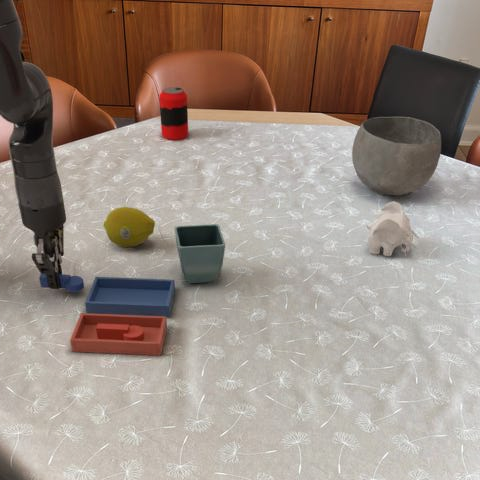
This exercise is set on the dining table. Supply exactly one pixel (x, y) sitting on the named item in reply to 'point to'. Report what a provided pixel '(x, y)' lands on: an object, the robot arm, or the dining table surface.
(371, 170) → the bowl
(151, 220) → the lemon
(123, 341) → the red tray
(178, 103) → the soda can
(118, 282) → the blue tray
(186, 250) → the flower pot
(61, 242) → the robot arm
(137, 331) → the red spoon
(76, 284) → the blue spoon
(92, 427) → the dining table surface
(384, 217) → the elephant figurine
